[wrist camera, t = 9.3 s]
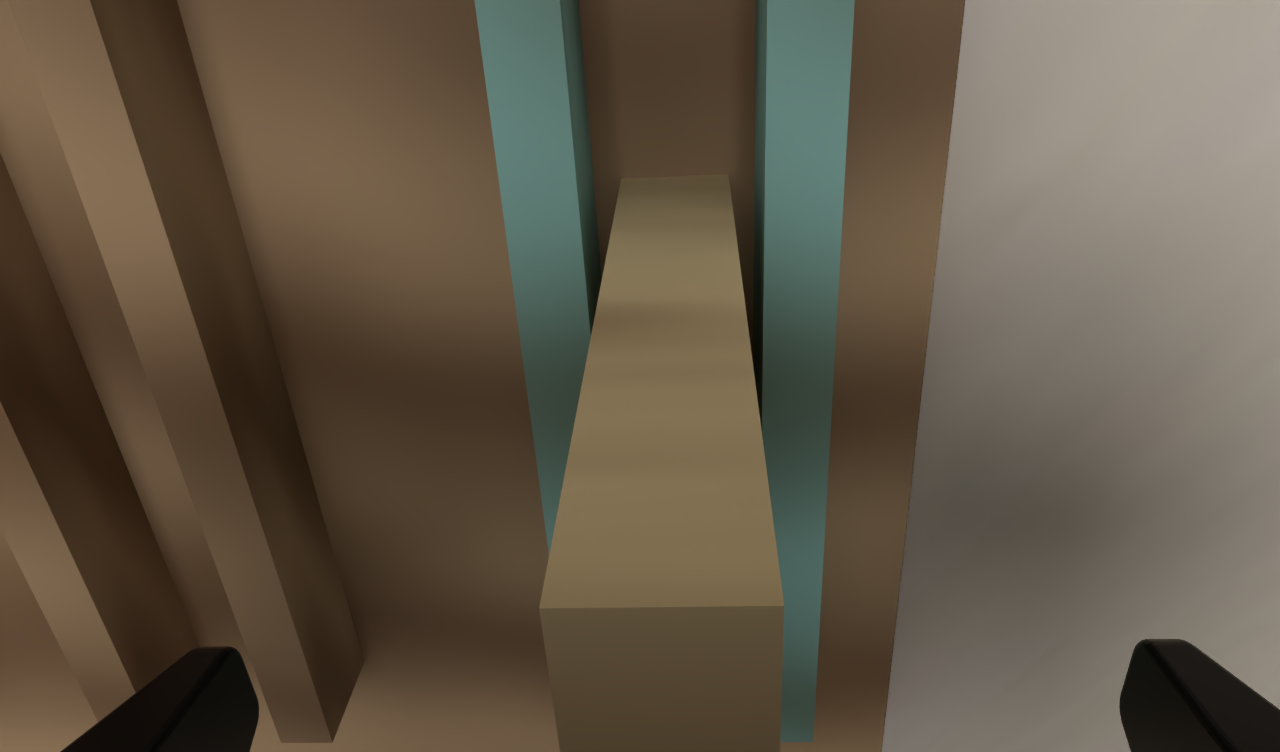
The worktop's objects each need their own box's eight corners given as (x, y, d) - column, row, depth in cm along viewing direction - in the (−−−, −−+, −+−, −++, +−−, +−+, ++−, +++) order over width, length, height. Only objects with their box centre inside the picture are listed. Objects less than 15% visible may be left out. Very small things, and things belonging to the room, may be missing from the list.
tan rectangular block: (730, 451, 16) (772, 1012, 8) (640, 453, 16) (598, 1009, 9) (728, 174, 14) (783, 604, 6) (620, 178, 14) (538, 608, 6)
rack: (873, 719, 21) (898, 843, 18) (-132, 722, 22) (-239, 837, 20) (990, -431, 11) (1084, -515, 8) (-823, -285, 13) (-1216, -319, 10)
